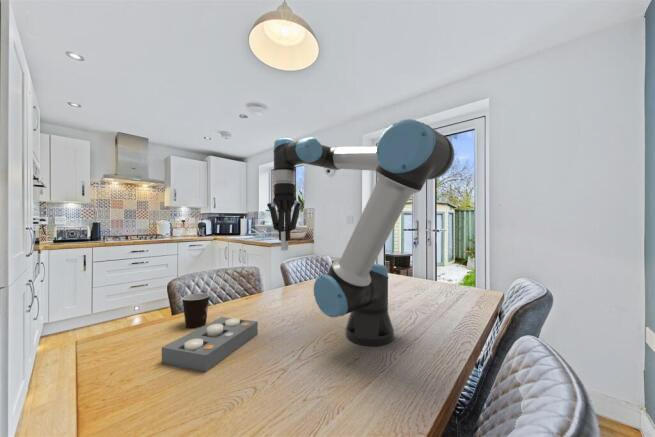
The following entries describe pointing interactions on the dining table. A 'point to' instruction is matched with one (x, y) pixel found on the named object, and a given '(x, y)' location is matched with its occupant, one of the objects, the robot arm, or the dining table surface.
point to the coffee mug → (195, 310)
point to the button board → (209, 345)
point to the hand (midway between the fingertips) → (284, 250)
